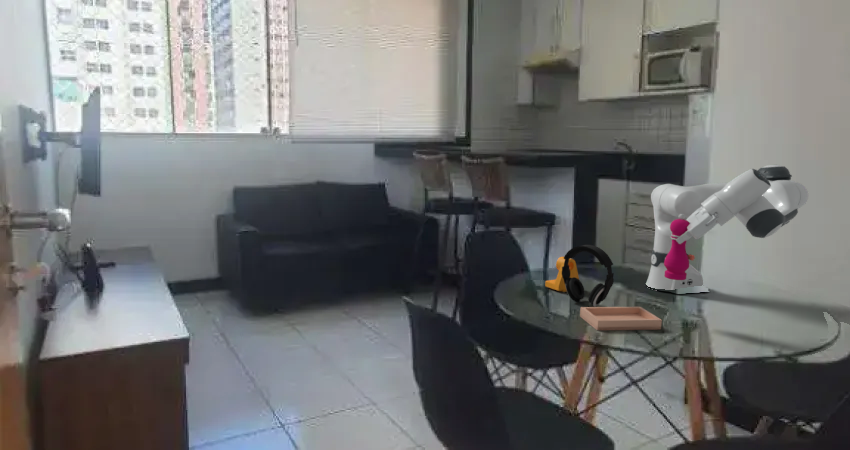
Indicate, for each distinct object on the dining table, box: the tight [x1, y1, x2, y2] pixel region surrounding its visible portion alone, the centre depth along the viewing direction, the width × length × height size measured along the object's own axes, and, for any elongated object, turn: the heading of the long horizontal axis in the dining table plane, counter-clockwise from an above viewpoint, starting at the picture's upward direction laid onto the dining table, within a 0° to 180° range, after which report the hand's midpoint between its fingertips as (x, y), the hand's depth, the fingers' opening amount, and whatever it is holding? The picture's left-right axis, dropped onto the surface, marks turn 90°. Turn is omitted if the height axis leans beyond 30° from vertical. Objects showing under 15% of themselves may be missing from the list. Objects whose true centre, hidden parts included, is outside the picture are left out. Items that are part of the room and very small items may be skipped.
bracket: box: [544, 256, 580, 293], centre depth 218 cm, size 11×7×12 cm, turn 123°
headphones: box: [562, 244, 615, 307], centre depth 199 cm, size 18×8×20 cm, turn 45°
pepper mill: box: [664, 214, 690, 280], centre depth 183 cm, size 7×7×20 cm
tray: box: [579, 306, 663, 331], centre depth 182 cm, size 20×13×3 cm, turn 98°
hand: (676, 240), depth 182 cm, fingers closed on pepper mill, 5 cm apart
